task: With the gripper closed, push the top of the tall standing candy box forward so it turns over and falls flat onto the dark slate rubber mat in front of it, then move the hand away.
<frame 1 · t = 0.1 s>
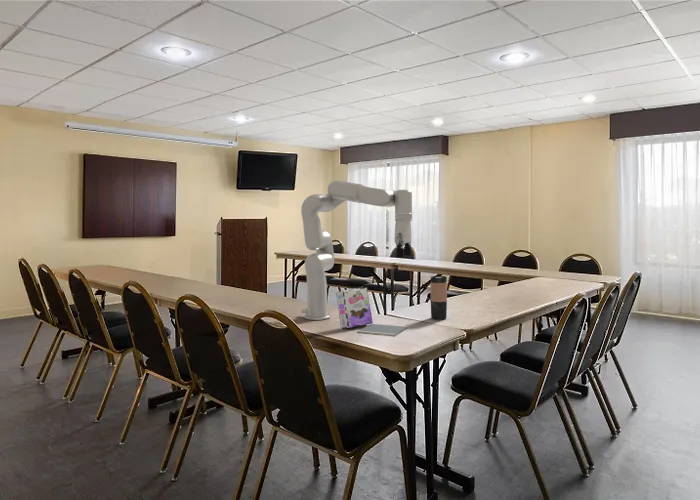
hand: (403, 256, 222), 31 cm above the table, tool pointing down, fingers open, 9 cm apart
travel mug: (438, 318, 237), on the table
mat: (383, 330, 216), on the table
candy box: (357, 326, 221), on the table
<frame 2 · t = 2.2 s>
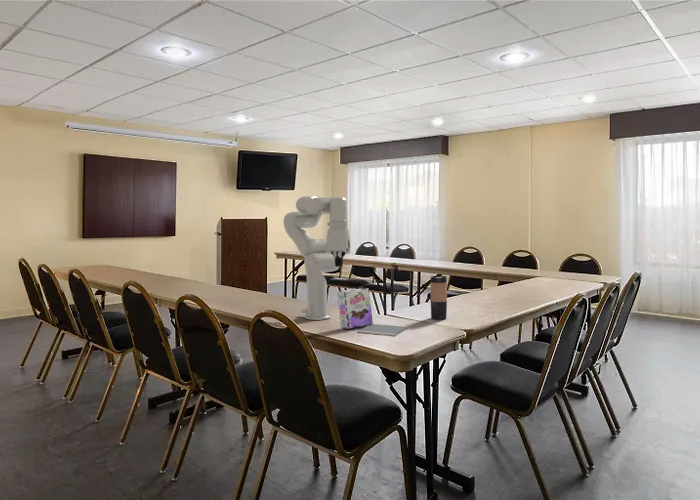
hand: (339, 266, 223), 27 cm above the table, tool pointing down, fingers closed
candy box: (357, 327, 221), on the table, touching mat
everything else where it was.
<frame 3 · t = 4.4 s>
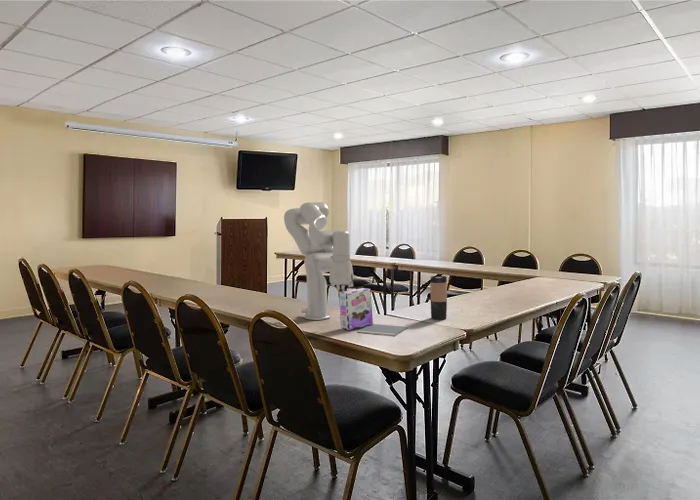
hand: (342, 299, 223), 12 cm above the table, tool pointing down, fingers closed
candy box: (357, 327, 221), on the table, touching gripper, mat
everything else where it was.
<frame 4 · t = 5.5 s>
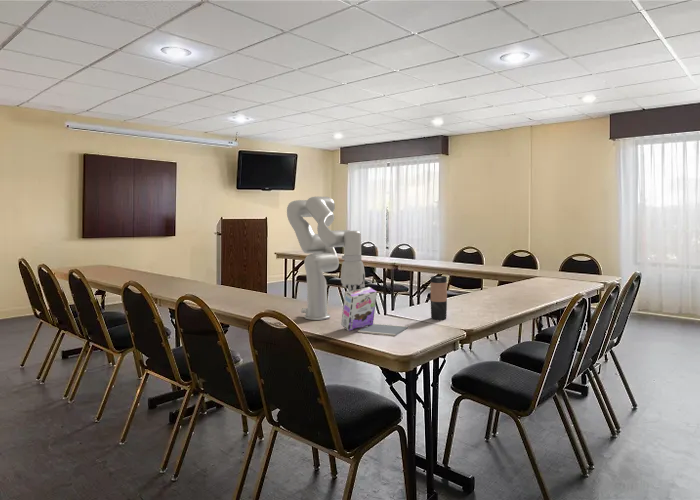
hand: (353, 300, 221), 12 cm above the table, tool pointing down, fingers closed
candy box: (357, 325, 221), point 1 cm above the table, touching mat
everything else where it was.
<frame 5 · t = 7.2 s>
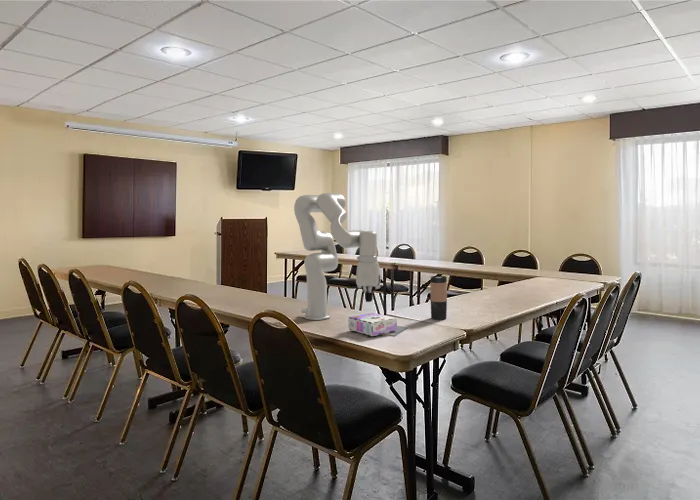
hand: (368, 301, 218), 12 cm above the table, tool pointing down, fingers closed
candy box: (360, 321, 219), point 3 cm above the table, touching mat
everything else where it was.
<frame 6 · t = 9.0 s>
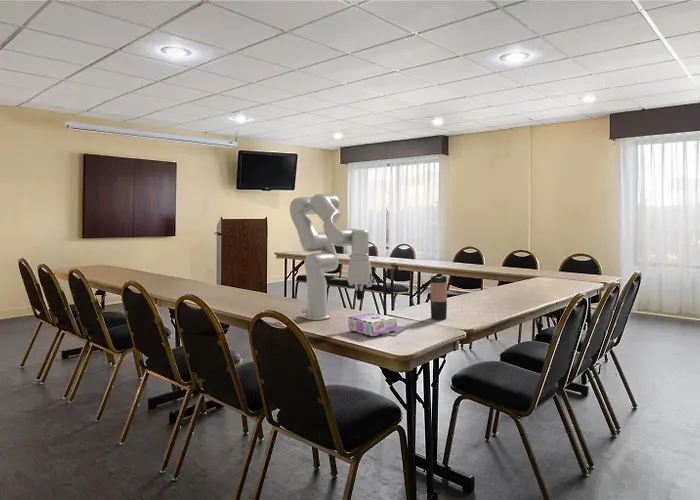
hand: (360, 299, 220), 13 cm above the table, tool pointing down, fingers closed
nothing on the table moved.
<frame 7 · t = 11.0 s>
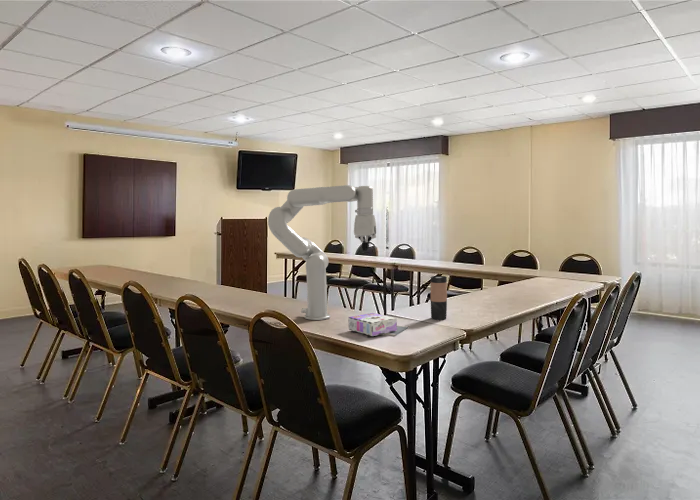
hand: (365, 250, 239), 33 cm above the table, tool pointing down, fingers closed
nothing on the table moved.
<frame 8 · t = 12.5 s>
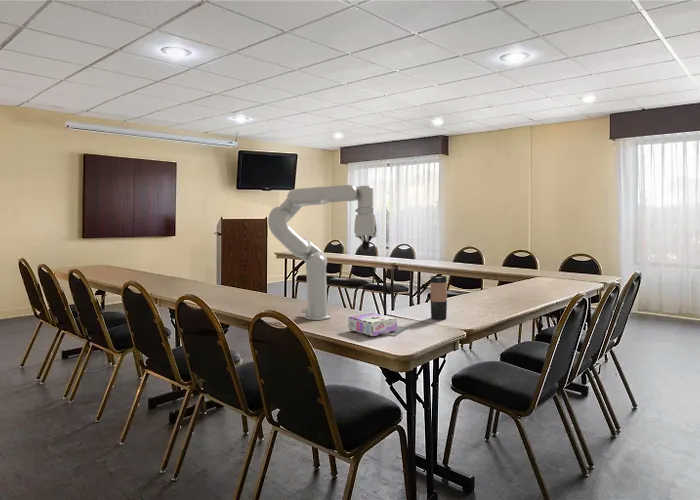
hand: (366, 249, 241), 33 cm above the table, tool pointing down, fingers closed
nothing on the table moved.
at the end: candy box tilted 89°; candy box inside the target area on the mat (8.3 cm from its centre), point 3.4 cm above the mat's base; the gripper is holding nothing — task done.
